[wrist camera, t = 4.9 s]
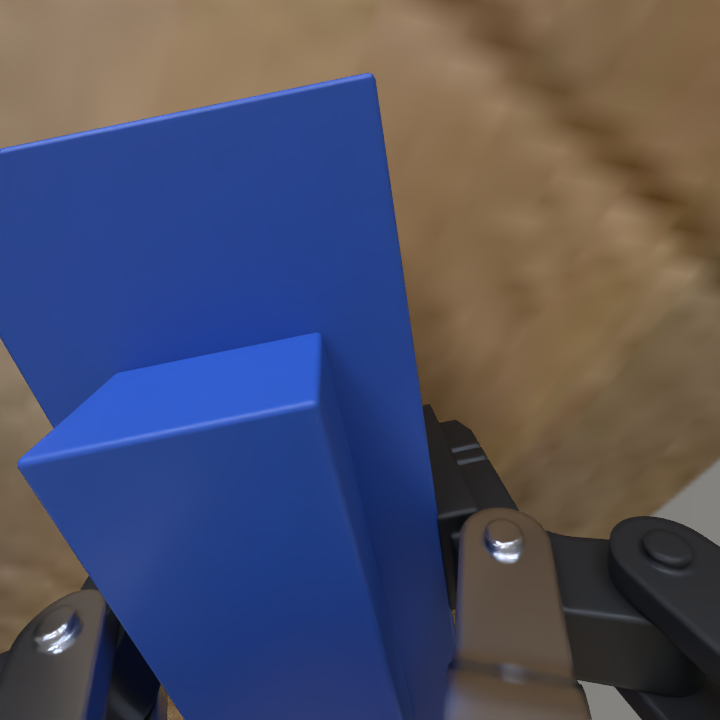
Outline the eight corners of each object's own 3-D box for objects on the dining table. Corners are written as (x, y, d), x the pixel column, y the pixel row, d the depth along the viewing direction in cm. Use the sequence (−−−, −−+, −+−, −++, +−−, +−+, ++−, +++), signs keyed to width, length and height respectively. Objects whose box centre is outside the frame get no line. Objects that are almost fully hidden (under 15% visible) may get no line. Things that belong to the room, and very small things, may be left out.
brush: (108, 177, 8) (-411, 154, 2) (351, 128, 8) (409, -15, 2) (291, 631, 13) (266, 939, 8) (432, 603, 13) (505, 892, 8)
